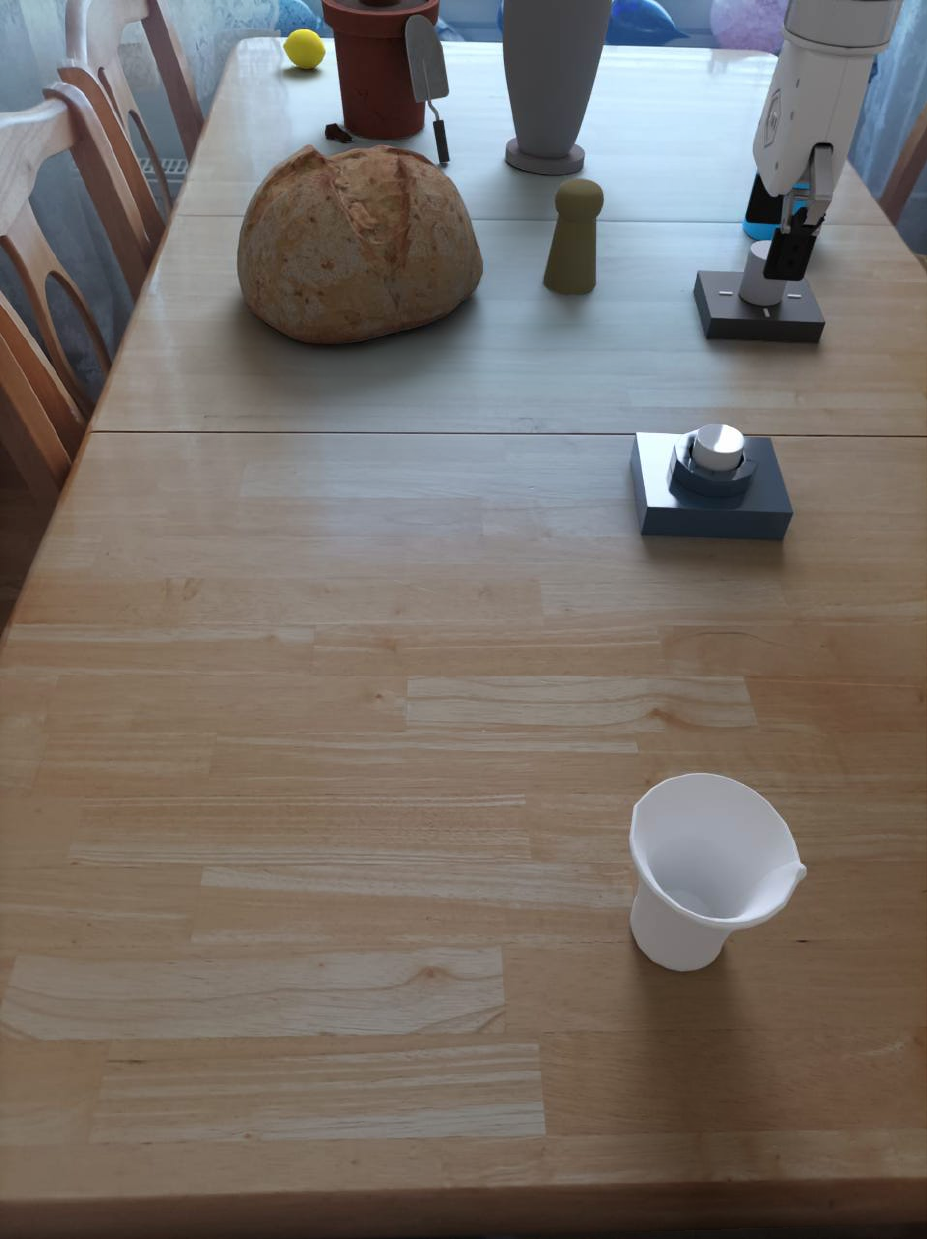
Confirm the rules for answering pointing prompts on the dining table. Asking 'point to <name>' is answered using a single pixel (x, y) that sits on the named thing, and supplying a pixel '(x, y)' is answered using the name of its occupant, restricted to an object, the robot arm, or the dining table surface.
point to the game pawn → (574, 238)
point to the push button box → (708, 491)
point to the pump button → (718, 447)
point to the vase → (551, 78)
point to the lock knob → (760, 278)
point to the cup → (706, 867)
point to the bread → (356, 245)
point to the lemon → (304, 48)
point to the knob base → (756, 311)
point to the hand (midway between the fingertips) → (771, 249)
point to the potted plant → (387, 68)
